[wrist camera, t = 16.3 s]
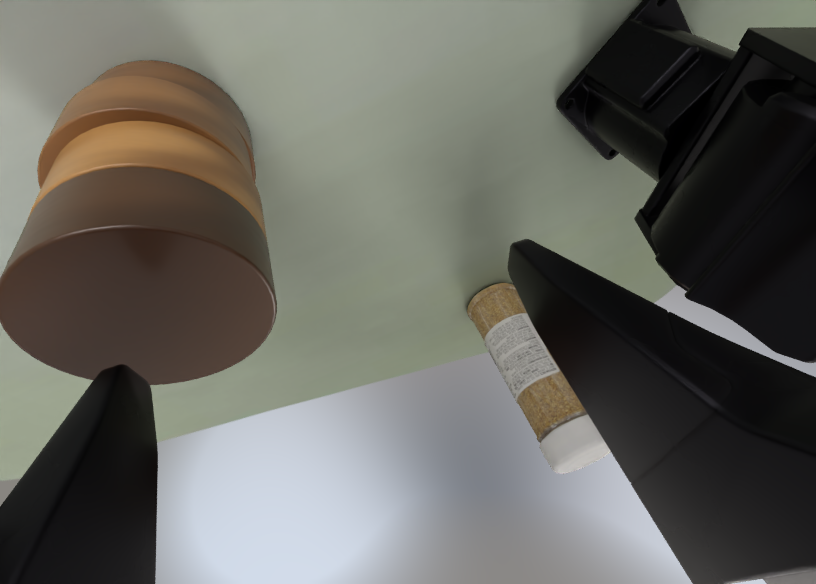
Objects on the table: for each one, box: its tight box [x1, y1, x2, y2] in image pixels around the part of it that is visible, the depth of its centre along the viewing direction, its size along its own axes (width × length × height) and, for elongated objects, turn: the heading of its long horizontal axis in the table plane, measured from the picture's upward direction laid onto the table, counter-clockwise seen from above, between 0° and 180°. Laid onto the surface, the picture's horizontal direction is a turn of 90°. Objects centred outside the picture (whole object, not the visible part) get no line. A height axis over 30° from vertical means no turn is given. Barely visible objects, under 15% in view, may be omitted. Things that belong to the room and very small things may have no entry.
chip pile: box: [37, 60, 256, 189], centre depth 15 cm, size 6×6×5 cm
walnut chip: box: [0, 167, 277, 385], centre depth 11 cm, size 6×6×2 cm
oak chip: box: [28, 121, 268, 245], centre depth 13 cm, size 6×6×2 cm
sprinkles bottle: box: [467, 283, 611, 474], centre depth 29 cm, size 5×5×14 cm
